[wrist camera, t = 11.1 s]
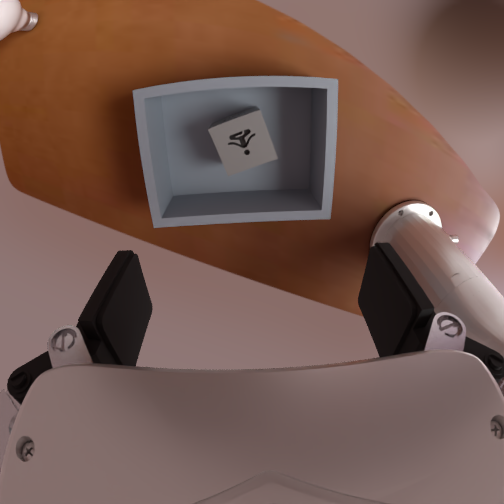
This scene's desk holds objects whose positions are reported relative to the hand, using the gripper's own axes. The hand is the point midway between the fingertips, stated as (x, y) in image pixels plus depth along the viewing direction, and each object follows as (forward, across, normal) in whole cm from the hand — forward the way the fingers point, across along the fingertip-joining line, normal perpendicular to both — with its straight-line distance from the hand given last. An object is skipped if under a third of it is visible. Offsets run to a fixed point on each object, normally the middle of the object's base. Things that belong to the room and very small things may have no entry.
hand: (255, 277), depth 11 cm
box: (+24, +1, -1) cm, 24 cm away
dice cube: (+23, 0, -2) cm, 23 cm away
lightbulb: (+23, +27, -23) cm, 42 cm away
